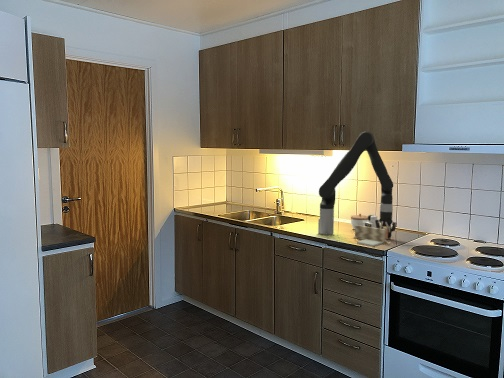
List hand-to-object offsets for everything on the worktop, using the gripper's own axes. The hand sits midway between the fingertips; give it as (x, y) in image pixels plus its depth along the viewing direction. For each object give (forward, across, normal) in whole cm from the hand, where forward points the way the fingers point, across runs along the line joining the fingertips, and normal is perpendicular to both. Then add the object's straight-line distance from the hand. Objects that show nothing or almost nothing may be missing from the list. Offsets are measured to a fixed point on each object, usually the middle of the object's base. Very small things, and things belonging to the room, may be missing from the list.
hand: (385, 236), depth 271 cm
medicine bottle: (+1, -15, +10) cm, 18 cm away
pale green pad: (+1, 0, -19) cm, 19 cm away
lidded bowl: (+1, -27, +14) cm, 30 cm away
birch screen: (+1, -5, -10) cm, 12 cm away
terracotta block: (+1, 0, 0) cm, 1 cm away
